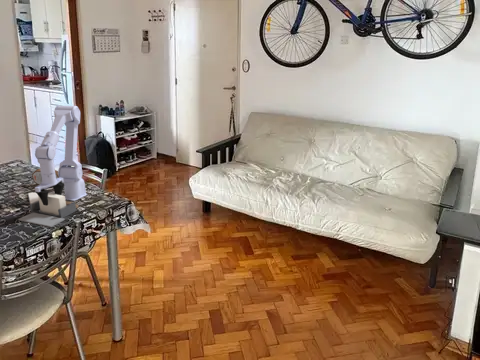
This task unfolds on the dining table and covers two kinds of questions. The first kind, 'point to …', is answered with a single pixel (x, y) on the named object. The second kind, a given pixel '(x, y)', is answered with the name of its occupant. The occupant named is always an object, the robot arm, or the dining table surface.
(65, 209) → the frame
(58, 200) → the white rectangular block
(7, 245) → the dining table surface
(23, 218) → the mat
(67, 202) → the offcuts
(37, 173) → the tin
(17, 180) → the dining table surface
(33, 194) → the phone case
